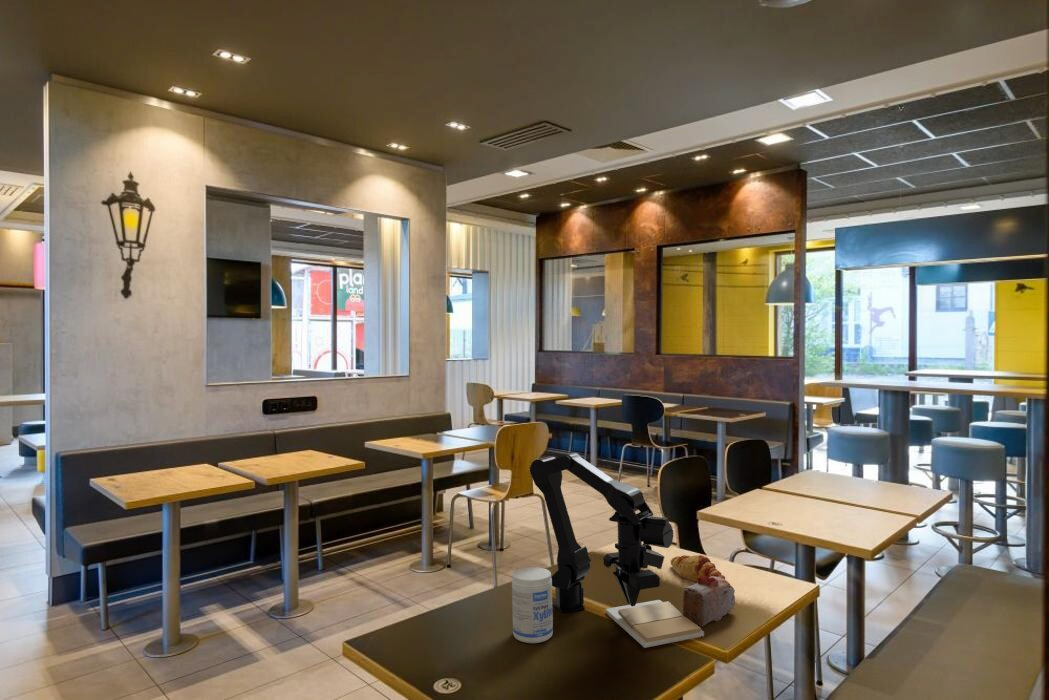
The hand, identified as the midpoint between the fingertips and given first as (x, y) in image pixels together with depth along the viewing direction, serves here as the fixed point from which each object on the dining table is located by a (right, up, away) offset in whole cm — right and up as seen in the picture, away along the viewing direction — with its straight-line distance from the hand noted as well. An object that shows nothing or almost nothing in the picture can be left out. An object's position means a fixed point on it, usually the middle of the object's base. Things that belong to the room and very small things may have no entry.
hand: (631, 604), depth 153 cm
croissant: (+24, -4, +30) cm, 39 cm away
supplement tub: (-24, -6, -5) cm, 25 cm away
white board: (+5, -5, -1) cm, 7 cm away
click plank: (+5, -3, 0) cm, 6 cm away
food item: (+20, -4, +3) cm, 20 cm away
